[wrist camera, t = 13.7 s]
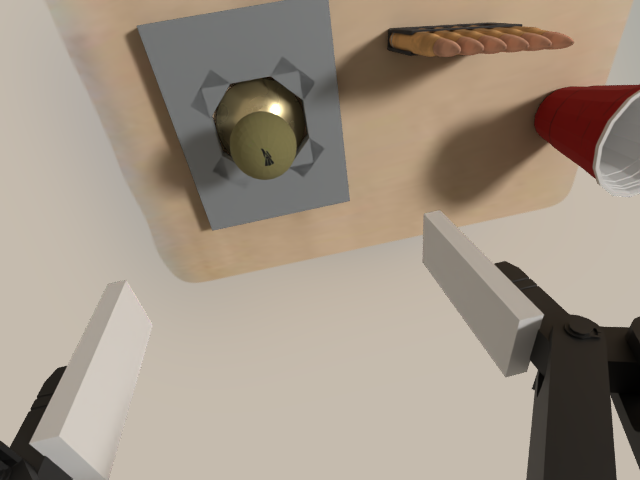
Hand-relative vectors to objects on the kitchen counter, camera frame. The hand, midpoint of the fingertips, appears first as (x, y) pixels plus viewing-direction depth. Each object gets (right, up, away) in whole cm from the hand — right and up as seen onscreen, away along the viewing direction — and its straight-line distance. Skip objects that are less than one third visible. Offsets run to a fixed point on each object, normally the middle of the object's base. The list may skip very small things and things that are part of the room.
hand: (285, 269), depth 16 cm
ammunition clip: (+13, +21, +19) cm, 32 cm away
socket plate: (-5, +13, +20) cm, 25 cm away
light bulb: (-5, +13, +20) cm, 25 cm away
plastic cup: (+29, +17, +26) cm, 42 cm away
